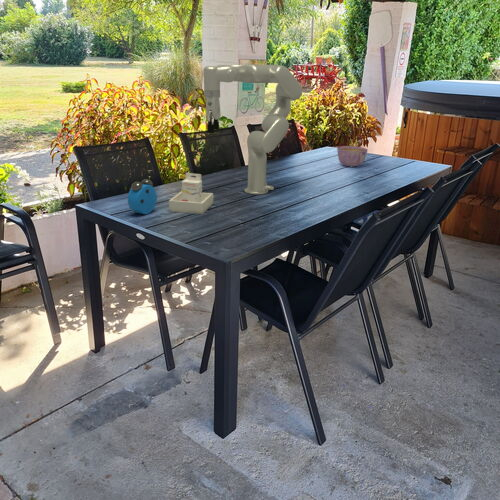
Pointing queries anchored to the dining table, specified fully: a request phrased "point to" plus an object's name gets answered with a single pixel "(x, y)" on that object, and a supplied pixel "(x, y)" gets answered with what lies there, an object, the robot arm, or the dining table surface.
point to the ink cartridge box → (192, 188)
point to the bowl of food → (351, 155)
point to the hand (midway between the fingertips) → (213, 131)
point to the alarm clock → (142, 197)
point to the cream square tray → (190, 204)
